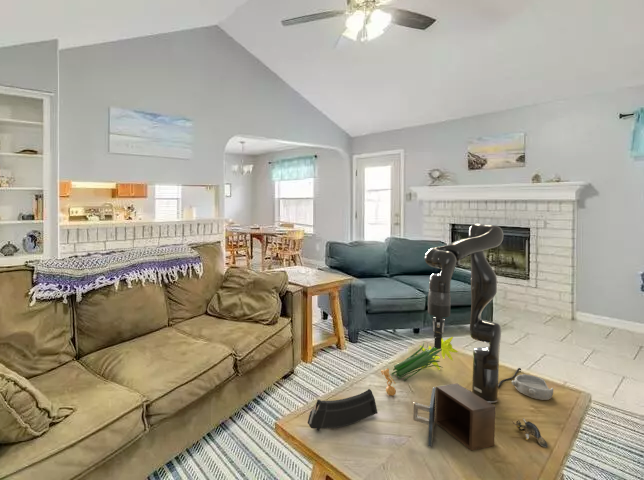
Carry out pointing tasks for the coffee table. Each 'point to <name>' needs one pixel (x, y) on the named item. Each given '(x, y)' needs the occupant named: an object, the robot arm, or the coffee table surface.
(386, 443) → the coffee table surface
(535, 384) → the dish
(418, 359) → the daffodil flowers
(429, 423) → the cupboard door
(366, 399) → the magazine
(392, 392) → the figurine
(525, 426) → the animal figure
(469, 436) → the cupboard
